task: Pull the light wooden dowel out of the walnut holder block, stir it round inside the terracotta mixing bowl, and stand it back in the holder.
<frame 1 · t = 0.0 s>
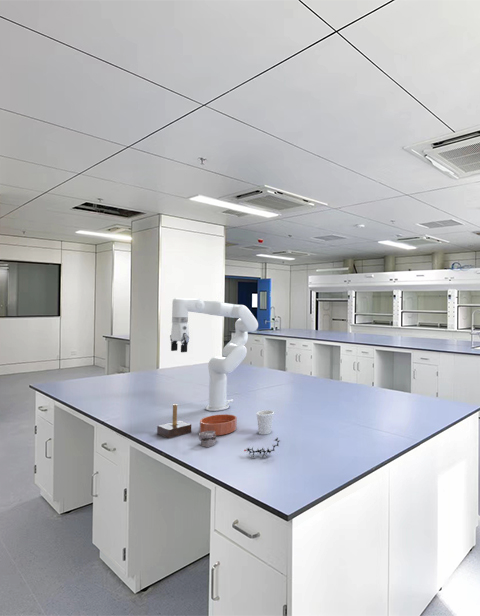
hand: (179, 351, 207), 37 cm above the table, tool pointing down, fingers open, 9 cm apart
dixie cup: (264, 432, 187), on the table
rod holder: (174, 433, 182), on the table
mixing bowl: (218, 431, 187), on the table
dental mold: (207, 444, 170), on the table
light wooden dowel: (174, 418, 182), in the rod holder
molecular model: (262, 456, 158), on the table
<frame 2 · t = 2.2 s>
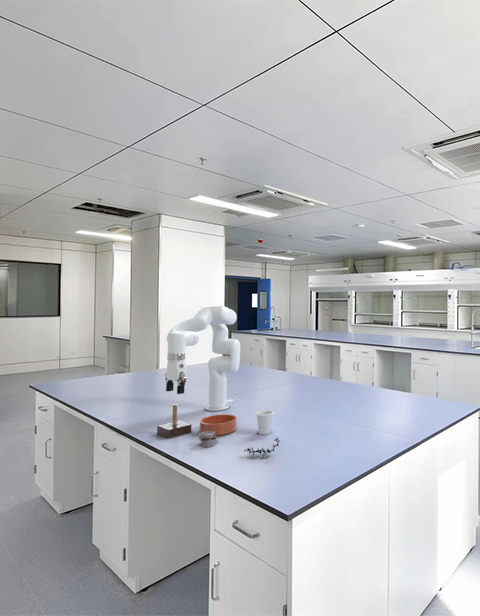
hand: (175, 392, 182), 20 cm above the table, tool pointing down, fingers open, 9 cm apart
nothing on the table moved.
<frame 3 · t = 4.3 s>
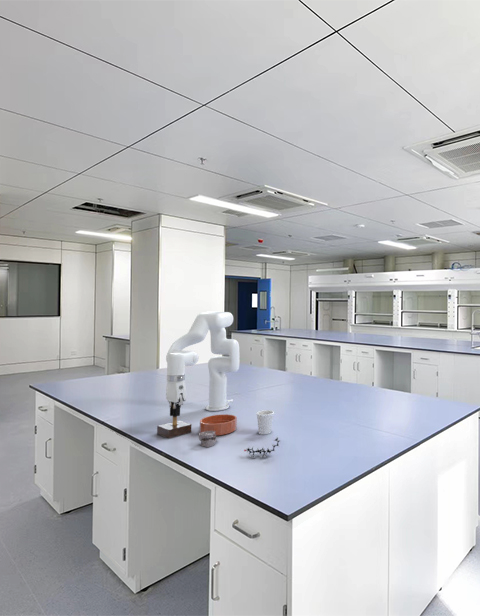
hand: (174, 415, 182), 9 cm above the table, tool pointing down, fingers closed on light wooden dowel, 1 cm apart
light wooden dowel: (174, 418, 182), in the rod holder, touching gripper
everything else where it was.
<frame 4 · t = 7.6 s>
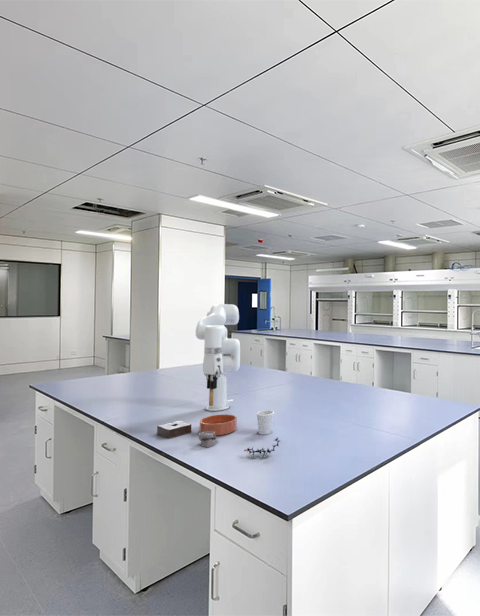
hand: (211, 388, 184), 22 cm above the table, tool pointing down, fingers closed on light wooden dowel, 1 cm apart
light wooden dowel: (211, 391, 184), point 21 cm above the table, touching gripper
everything else where it was.
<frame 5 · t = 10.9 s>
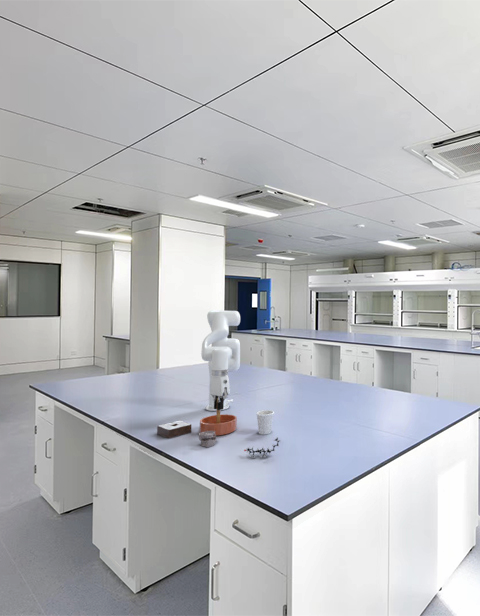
hand: (218, 408, 189), 10 cm above the table, tool pointing down, fingers closed on light wooden dowel, 1 cm apart
light wooden dowel: (218, 411, 189), point 9 cm above the table, touching gripper
everything else where it was.
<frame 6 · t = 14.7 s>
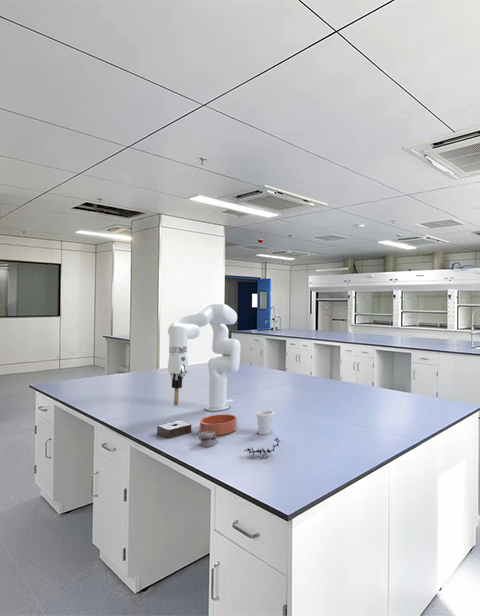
hand: (176, 387, 182), 22 cm above the table, tool pointing down, fingers closed on light wooden dowel, 1 cm apart
light wooden dowel: (176, 390, 182), point 21 cm above the table, touching gripper
everything else where it was.
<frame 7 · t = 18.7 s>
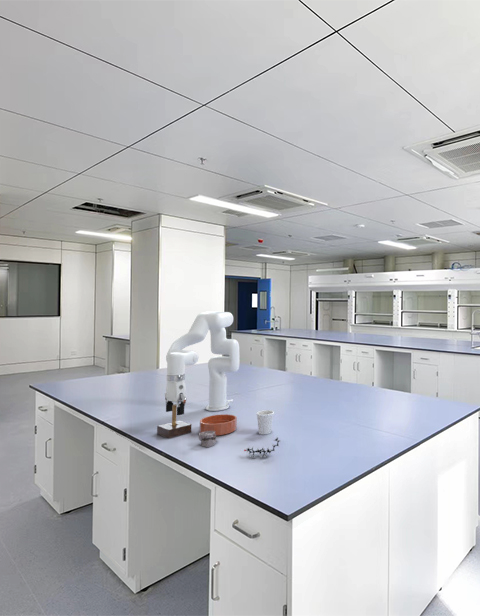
hand: (174, 412, 182), 10 cm above the table, tool pointing down, fingers open, 9 cm apart
light wooden dowel: (174, 419, 182), in the rod holder
everything else where it was.
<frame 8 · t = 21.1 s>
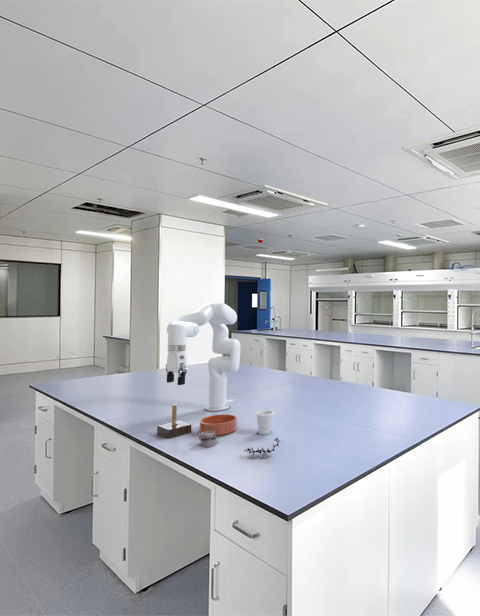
hand: (175, 383, 182), 24 cm above the table, tool pointing down, fingers open, 9 cm apart
nothing on the table moved.
at the end: light wooden dowel 0.3 cm off-centre in the rod holder, point 7.0 cm above the rod holder's base; light wooden dowel tilted 0°; the gripper is holding nothing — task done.
